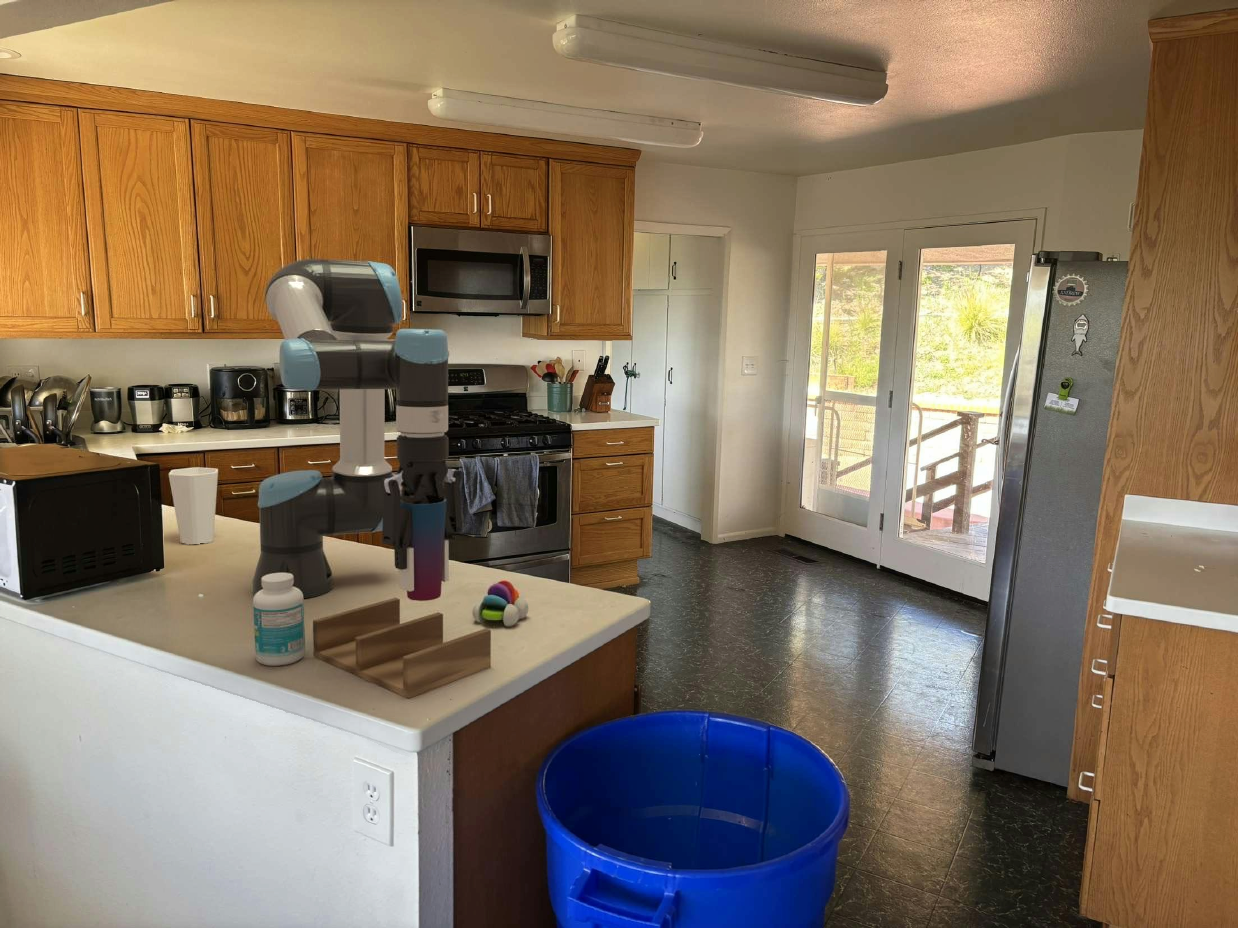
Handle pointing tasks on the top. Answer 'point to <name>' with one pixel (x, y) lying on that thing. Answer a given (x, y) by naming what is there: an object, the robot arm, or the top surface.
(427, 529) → the cup
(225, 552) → the top surface
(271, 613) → the pill bottle
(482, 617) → the rainbow disc stack
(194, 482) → the cup
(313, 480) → the robot arm
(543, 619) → the top surface
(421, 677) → the rack
